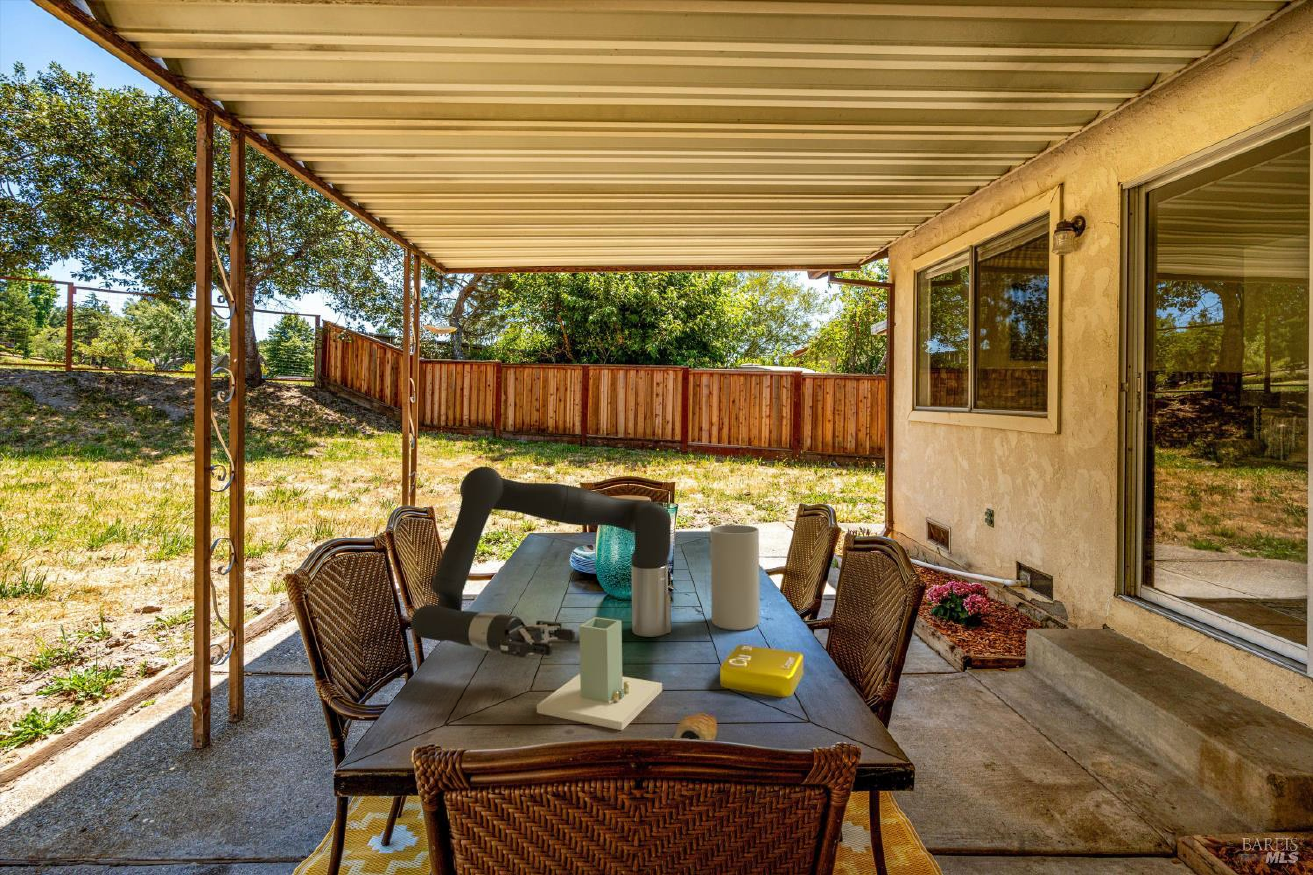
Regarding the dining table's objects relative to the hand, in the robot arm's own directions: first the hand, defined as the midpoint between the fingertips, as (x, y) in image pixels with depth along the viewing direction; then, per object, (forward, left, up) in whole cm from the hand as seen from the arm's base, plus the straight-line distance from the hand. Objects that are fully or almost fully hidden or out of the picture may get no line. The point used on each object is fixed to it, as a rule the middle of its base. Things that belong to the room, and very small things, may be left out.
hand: (562, 642), depth 134 cm
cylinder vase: (-50, -30, -11) cm, 59 cm away
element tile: (-41, +5, -11) cm, 43 cm away
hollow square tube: (-7, +6, -9) cm, 13 cm away
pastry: (-20, +24, -11) cm, 33 cm away
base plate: (-7, +5, -10) cm, 14 cm away
